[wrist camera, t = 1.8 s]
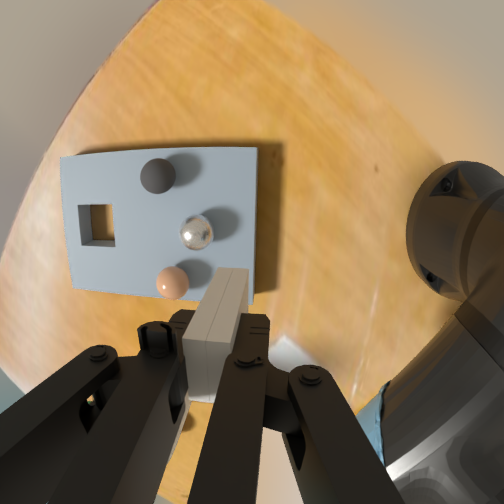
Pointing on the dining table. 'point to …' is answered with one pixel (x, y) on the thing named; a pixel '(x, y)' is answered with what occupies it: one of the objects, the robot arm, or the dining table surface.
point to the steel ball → (196, 232)
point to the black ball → (157, 176)
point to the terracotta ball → (172, 283)
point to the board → (159, 217)
